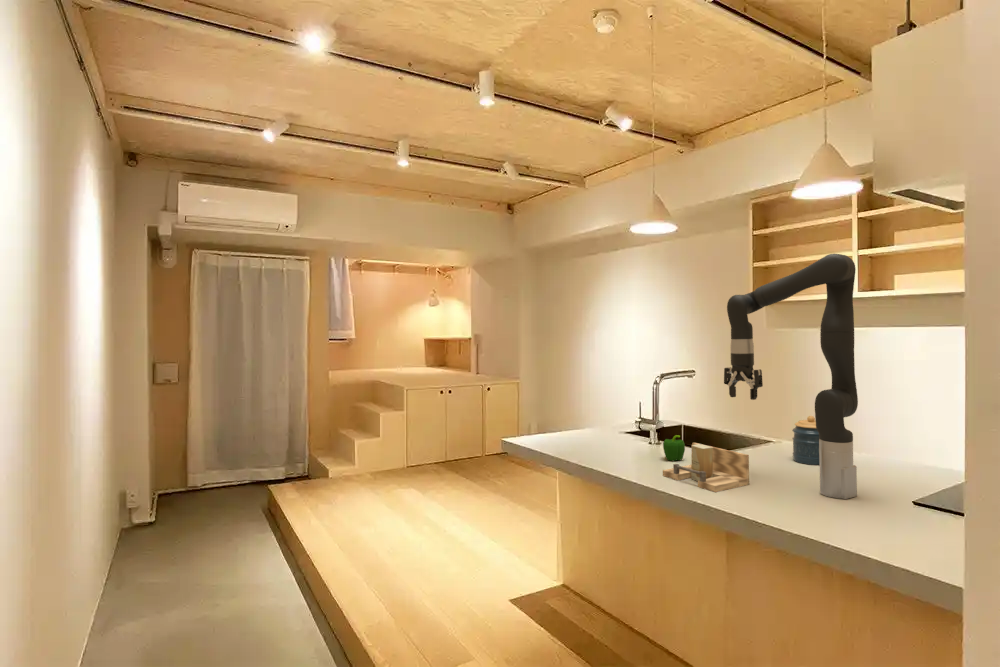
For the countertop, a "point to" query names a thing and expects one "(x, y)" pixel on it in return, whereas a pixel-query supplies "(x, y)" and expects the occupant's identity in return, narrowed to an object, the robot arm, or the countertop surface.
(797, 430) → the canister
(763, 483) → the countertop surface
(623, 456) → the countertop surface
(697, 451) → the skincare box
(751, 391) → the robot arm
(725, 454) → the wooden stand with handle
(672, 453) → the bell pepper
